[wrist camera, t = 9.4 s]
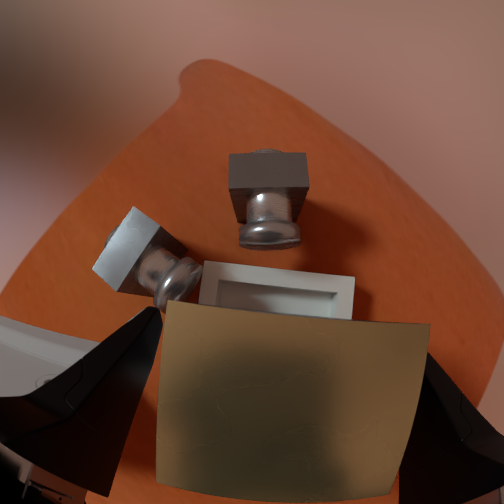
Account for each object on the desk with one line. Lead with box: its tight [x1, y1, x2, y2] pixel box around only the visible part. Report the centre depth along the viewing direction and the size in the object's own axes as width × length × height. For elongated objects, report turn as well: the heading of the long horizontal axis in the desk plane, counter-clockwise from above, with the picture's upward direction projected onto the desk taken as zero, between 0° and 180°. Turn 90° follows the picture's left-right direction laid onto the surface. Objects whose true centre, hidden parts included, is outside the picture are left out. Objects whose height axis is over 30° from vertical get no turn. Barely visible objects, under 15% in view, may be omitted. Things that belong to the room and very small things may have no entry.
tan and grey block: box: [156, 300, 430, 503], centre depth 11 cm, size 5×4×13 cm
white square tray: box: [198, 260, 355, 319], centre depth 17 cm, size 9×9×2 cm
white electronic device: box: [0, 316, 100, 397], centre depth 14 cm, size 17×5×10 cm, turn 87°
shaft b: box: [92, 206, 203, 314], centre depth 16 cm, size 5×4×6 cm
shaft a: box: [229, 149, 309, 251], centre depth 17 cm, size 5×4×6 cm
